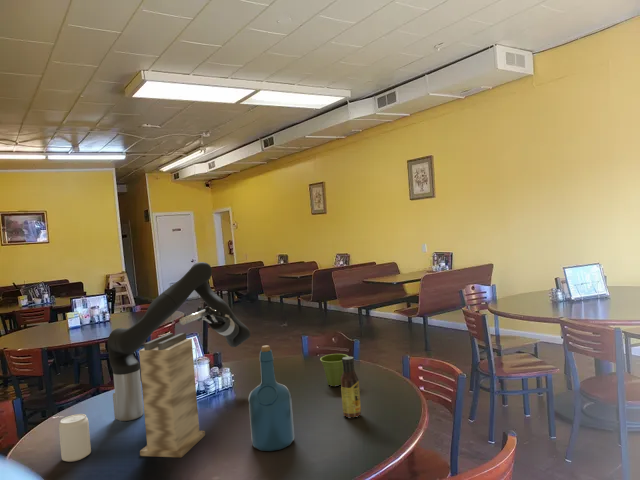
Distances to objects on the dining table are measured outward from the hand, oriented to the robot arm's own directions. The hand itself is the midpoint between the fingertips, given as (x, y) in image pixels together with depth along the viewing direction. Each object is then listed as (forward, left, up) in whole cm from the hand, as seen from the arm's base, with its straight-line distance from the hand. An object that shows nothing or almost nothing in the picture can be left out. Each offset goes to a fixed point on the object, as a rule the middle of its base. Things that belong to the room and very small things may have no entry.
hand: (202, 309), depth 173 cm
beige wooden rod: (0, -4, -3) cm, 5 cm away
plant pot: (+41, +32, -39) cm, 65 cm away
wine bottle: (+32, -22, -39) cm, 55 cm away
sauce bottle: (+53, 0, -39) cm, 66 cm away
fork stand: (0, -25, -39) cm, 46 cm away
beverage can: (-28, -35, -39) cm, 60 cm away
